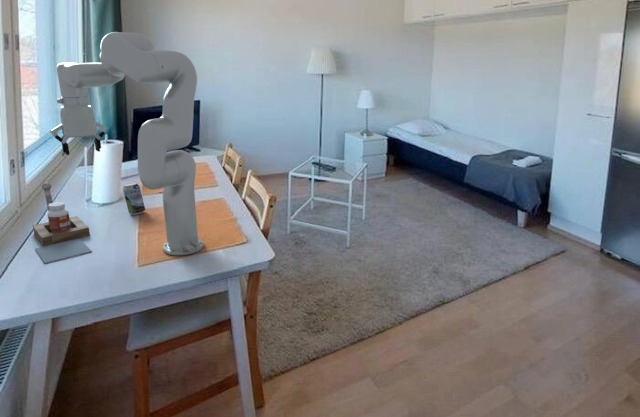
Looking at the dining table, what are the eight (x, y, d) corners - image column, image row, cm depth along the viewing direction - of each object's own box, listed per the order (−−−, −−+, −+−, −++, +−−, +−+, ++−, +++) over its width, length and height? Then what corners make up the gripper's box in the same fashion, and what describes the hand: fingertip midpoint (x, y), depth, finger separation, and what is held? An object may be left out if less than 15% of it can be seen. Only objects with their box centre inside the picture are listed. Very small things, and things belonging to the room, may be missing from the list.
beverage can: (139, 217, 171) (136, 186, 167) (122, 215, 173) (118, 185, 169) (149, 211, 177) (145, 182, 173) (132, 209, 178) (128, 180, 174)
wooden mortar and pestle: (90, 235, 154) (82, 191, 149) (43, 246, 145) (33, 199, 140) (74, 219, 168) (66, 178, 162) (30, 228, 159) (21, 185, 153)
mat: (91, 252, 142) (91, 250, 142) (44, 264, 134) (44, 262, 134) (79, 239, 151) (79, 238, 151) (35, 249, 143) (35, 248, 143)
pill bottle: (64, 238, 151) (58, 207, 147) (47, 237, 152) (41, 206, 148) (76, 231, 157) (70, 201, 153) (60, 230, 158) (54, 200, 154)
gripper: (47, 104, 142) (57, 158, 148) (105, 101, 153) (112, 151, 158) (43, 102, 148) (52, 153, 153) (99, 99, 158) (106, 147, 164)
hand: (82, 152), depth 156 cm, fingers open, 9 cm apart
